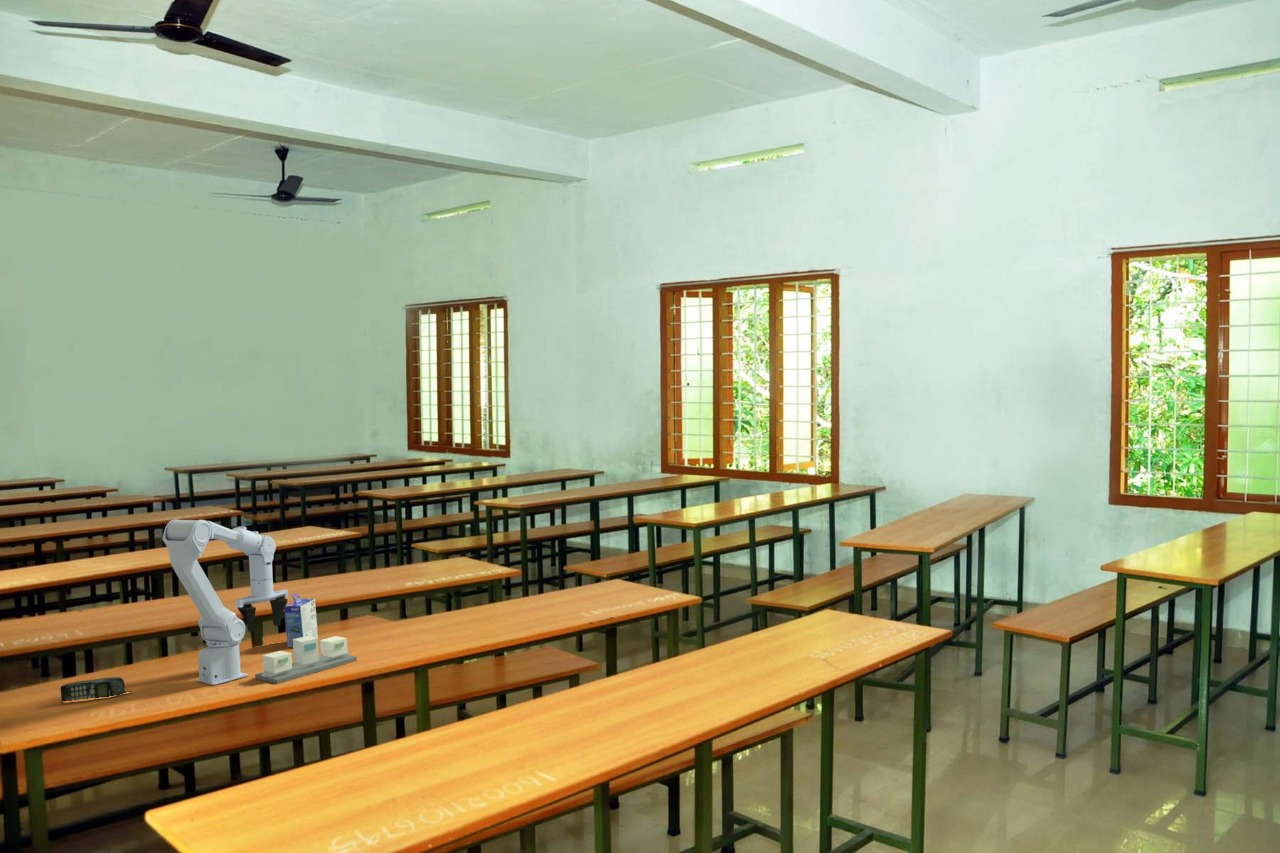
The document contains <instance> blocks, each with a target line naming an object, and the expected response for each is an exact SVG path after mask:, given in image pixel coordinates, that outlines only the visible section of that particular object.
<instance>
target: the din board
mask: <svg viewBox="0 0 1280 853" xmlns="http://www.w3.org/2000/svg"><path fill="white" fill-rule="evenodd" d="M356 661H358V657H357V656H355V655H350V654H349V655H348V656H345V657H341V658H338V659H334V660H331V661H327V662H324V663H320V664H317V665H313V666H310V667H307V668H303V669H300V670H296V671H293V672H289V673H286V674H282V675H279V676H275V677H272V678H268V677H264V676H262V672H263V671H262V672H258V673H255V674H254V679H257V680H261V681H266V682H269V683H272V682H273V684H276V683H279V684H281V683H280V682H282V683H285V682H289V681H291V679H292V680H296V679H299V678H302V677H305V676H304V675H306V676H308V674H309V675H312V673H313V674H316V673H319V672H322V670H323V671H326V670H329V669H333V668H336V667H339V666H343V665H346V664H349V663H353V662H356ZM318 671H319V672H318ZM315 672H316V673H315ZM298 677H299V678H298ZM295 678H296V679H295ZM288 680H289V681H288ZM284 681H285V682H284Z"/></svg>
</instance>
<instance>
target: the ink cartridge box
mask: <svg viewBox="0 0 1280 853" xmlns="http://www.w3.org/2000/svg"><path fill="white" fill-rule="evenodd" d="M296 597H298V598H296ZM291 598H292V600H293V602H291V603H289V604H286V606H285V608H284V621H285V632H286V643H287V648H293V639H296V638H301V637H305V636H311V637H314V638H318V639H319V635H318V634H319V633H318V622H317V610H316V599H315V598H302V597H301V596H300V594H298V592H297V593H294V594H292V595H291Z"/></svg>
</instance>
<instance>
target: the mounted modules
mask: <svg viewBox="0 0 1280 853" xmlns="http://www.w3.org/2000/svg"><path fill="white" fill-rule="evenodd" d="M319 644H320V646H319V647H320V649H319V650H320V656H321V655H324V656H328V657H335V656H338V655H342V654H345V653H348V651H349V650H348V638H347V637H342V636H337V635H334V636H331V637H328V638H323V639H320V640H319ZM292 656H293V654H292V652H287V651H284V650H278V651H274V652H270V653H266V654H263V655H262V662H263V663H262V664H263V666H262V667H263V672H264V671H267V672H271V673H279V672H282V671H286V670H289V669H292V664H293V658H292Z"/></svg>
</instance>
